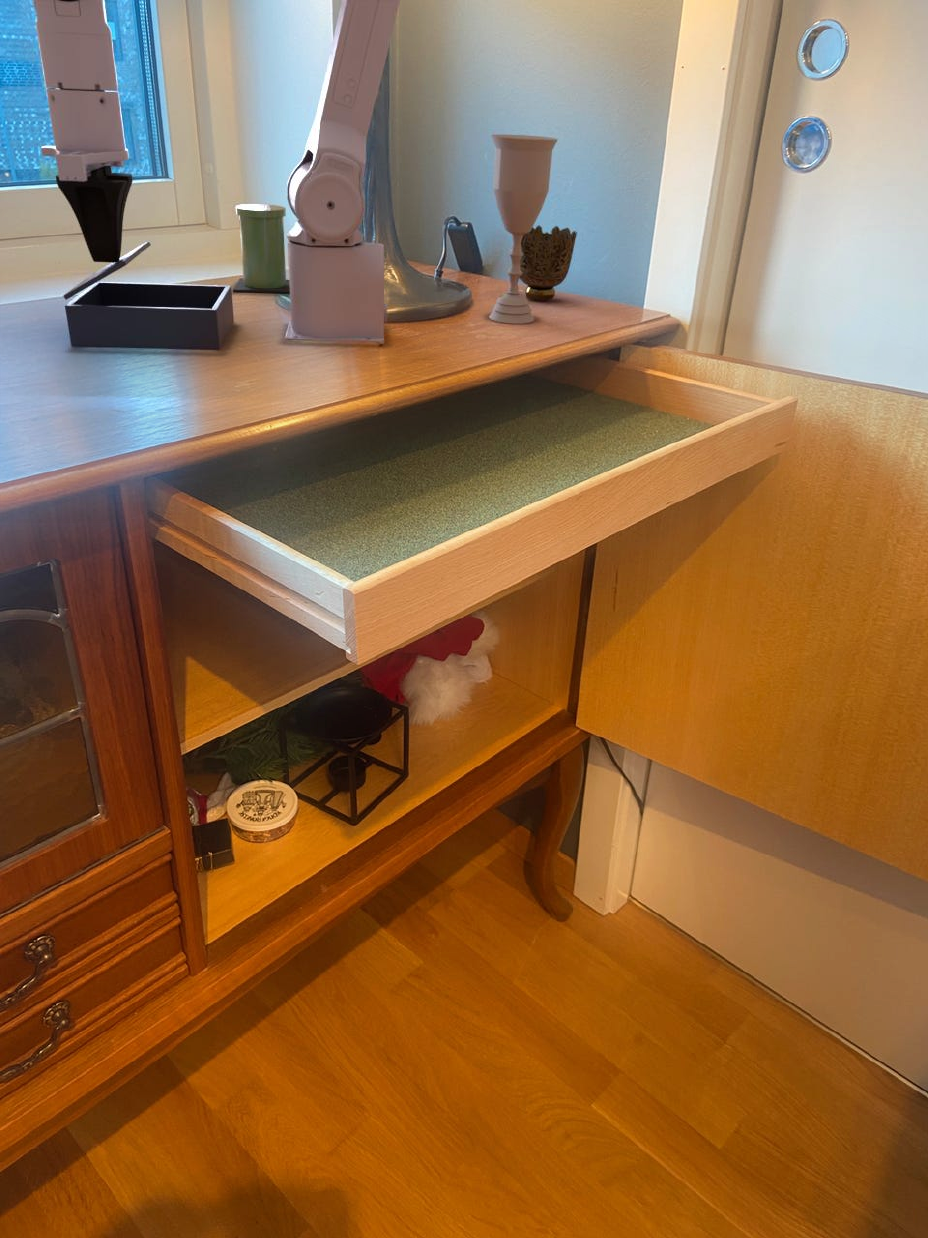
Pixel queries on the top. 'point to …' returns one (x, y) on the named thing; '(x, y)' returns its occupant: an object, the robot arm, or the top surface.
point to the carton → (151, 316)
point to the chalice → (519, 207)
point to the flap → (107, 270)
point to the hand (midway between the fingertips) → (106, 260)
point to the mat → (244, 289)
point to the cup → (545, 261)
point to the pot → (262, 245)
